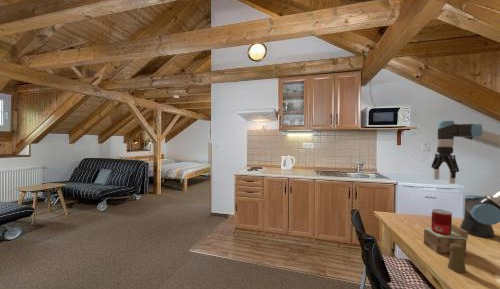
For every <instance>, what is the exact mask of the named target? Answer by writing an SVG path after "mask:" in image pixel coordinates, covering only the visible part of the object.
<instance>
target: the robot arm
mask: <svg viewBox="0 0 500 289" xmlns="http://www.w3.org/2000/svg"><path fill="white" fill-rule="evenodd" d="M454 138H463V139H467V140H469V141H474V142H477V143H480V144H483V145H486V146H489V147H493V148H496V149H499V150H500V134H497V133H494V132H491V131H487V130H484V129H483V125H482V124H480V123H461V124H460V123H455V120H441V121H439V122H438V124H437V141H436V142H437V144H436V145H437V147H436V153H435V154H434V158H433V160H432V163H431V168H433V180H440V167H441V166H442V164H443V163H445V164H446V165H447V167H448V169H449V173H448V184H450V185H452V184H453V185H455V184H456V177H457V176H456V175H457V174H456V173H459V172H460V168H459V166H458V163H457V159H456V155H455V154H453V153H454V145H455V144H454V142H455V139H454ZM452 154H453V155H452ZM463 215H464V217H463V220H462V222H461V223H460V225H459V228H461V229H463V230H465V231H467V232H468V235H471V236H476V237H480V238H487V239H488V238H489V239H490V238H494V237H495V231H494V228H493V225H497V224H499V223H500V190H498V191H496V192H495V193H493V194H492V195H490V194H489V195H487V194H486V195H484V196H483V195H478V194H477V195H476V194H475V195H474V194H466V195H465V196H464V214H463Z"/></svg>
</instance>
